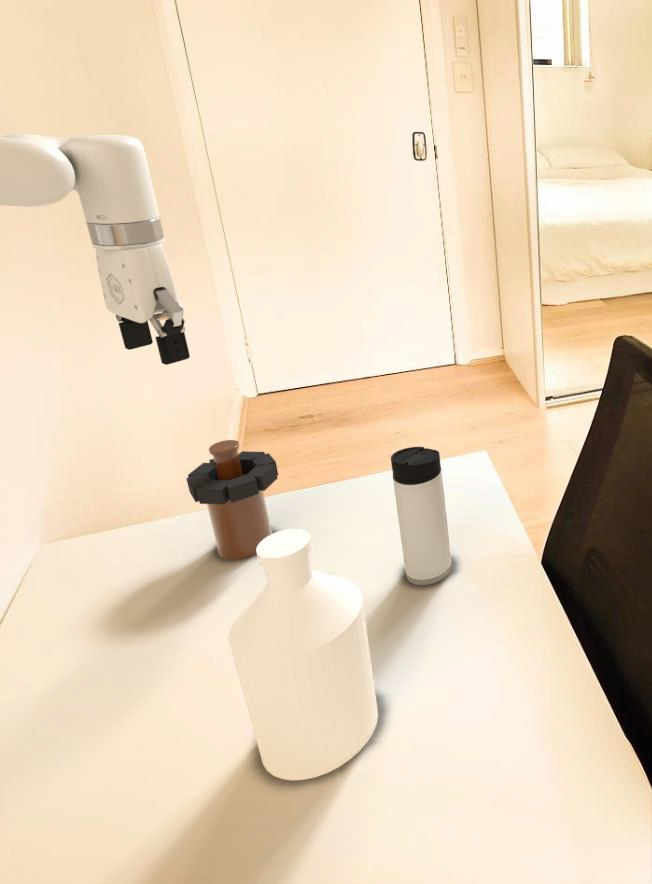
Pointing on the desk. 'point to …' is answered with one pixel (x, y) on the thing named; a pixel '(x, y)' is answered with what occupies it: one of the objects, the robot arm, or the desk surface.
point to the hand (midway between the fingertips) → (157, 353)
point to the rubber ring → (221, 491)
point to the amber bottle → (236, 509)
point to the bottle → (304, 663)
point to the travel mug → (421, 514)
